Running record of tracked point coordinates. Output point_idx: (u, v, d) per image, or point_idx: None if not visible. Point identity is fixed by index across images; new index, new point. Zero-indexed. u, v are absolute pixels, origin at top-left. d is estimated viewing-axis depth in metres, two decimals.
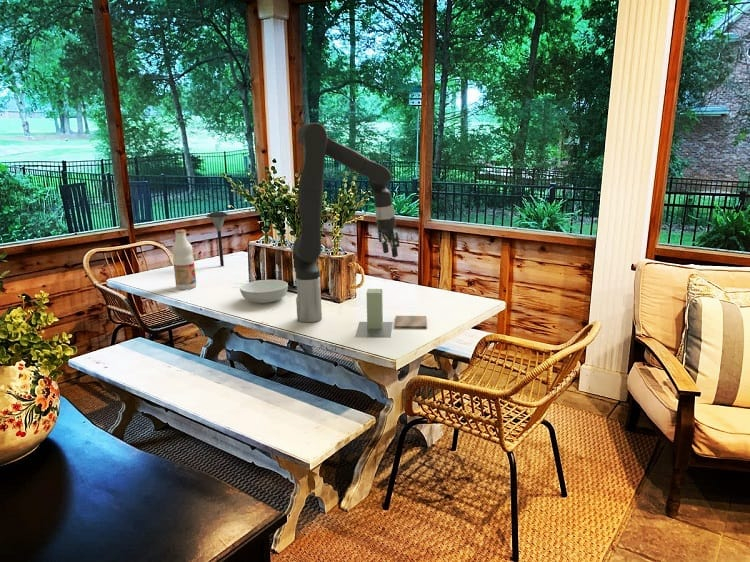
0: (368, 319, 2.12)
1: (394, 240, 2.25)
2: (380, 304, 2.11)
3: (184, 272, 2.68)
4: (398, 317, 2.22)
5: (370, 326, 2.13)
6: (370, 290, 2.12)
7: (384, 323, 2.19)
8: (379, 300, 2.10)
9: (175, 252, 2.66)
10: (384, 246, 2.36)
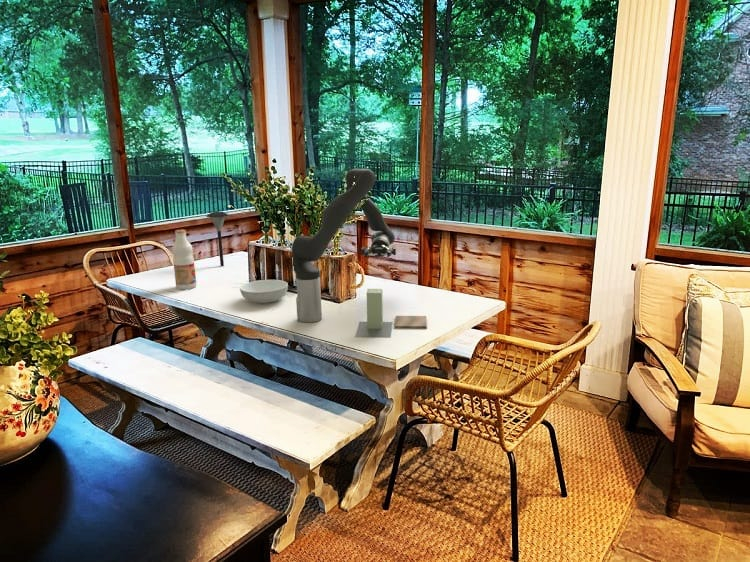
0: (368, 319, 2.12)
1: None
2: (380, 304, 2.11)
3: (184, 272, 2.68)
4: (398, 317, 2.22)
5: (370, 326, 2.13)
6: (370, 290, 2.12)
7: (384, 323, 2.19)
8: (379, 300, 2.10)
9: (175, 252, 2.66)
10: (368, 251, 2.30)
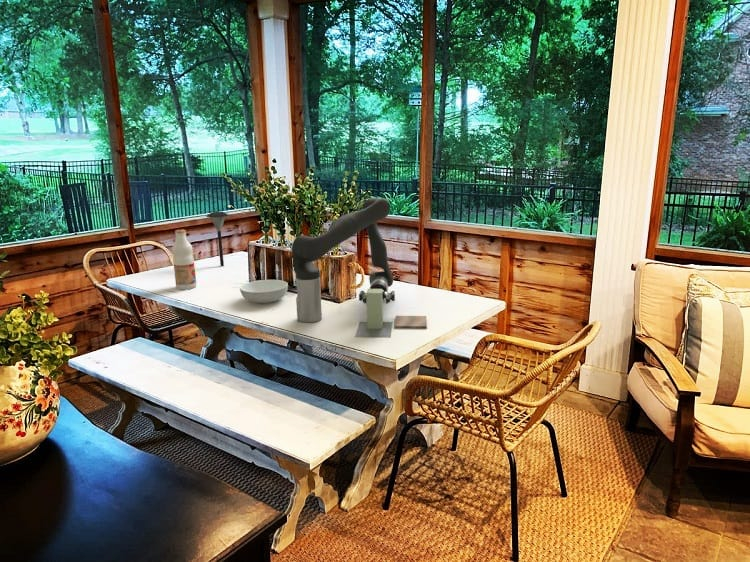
0: (368, 319, 2.12)
1: (394, 294, 2.27)
2: (380, 304, 2.11)
3: (184, 272, 2.68)
4: (398, 317, 2.22)
5: (370, 326, 2.13)
6: (370, 290, 2.12)
7: (384, 323, 2.19)
8: (379, 300, 2.10)
9: (175, 252, 2.66)
10: (366, 297, 2.23)
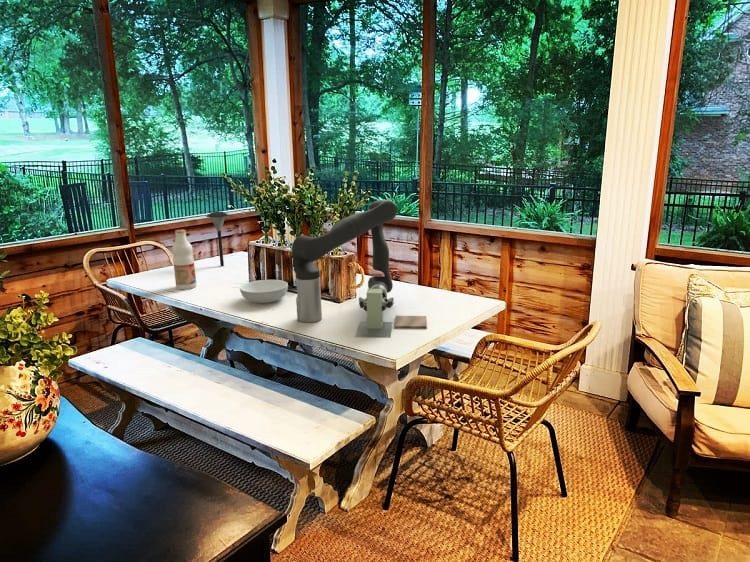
0: (368, 319, 2.12)
1: (392, 301, 2.18)
2: (380, 304, 2.11)
3: (184, 272, 2.68)
4: (398, 317, 2.22)
5: (370, 326, 2.13)
6: (370, 290, 2.12)
7: (384, 323, 2.19)
8: (379, 300, 2.10)
9: (175, 252, 2.66)
10: None
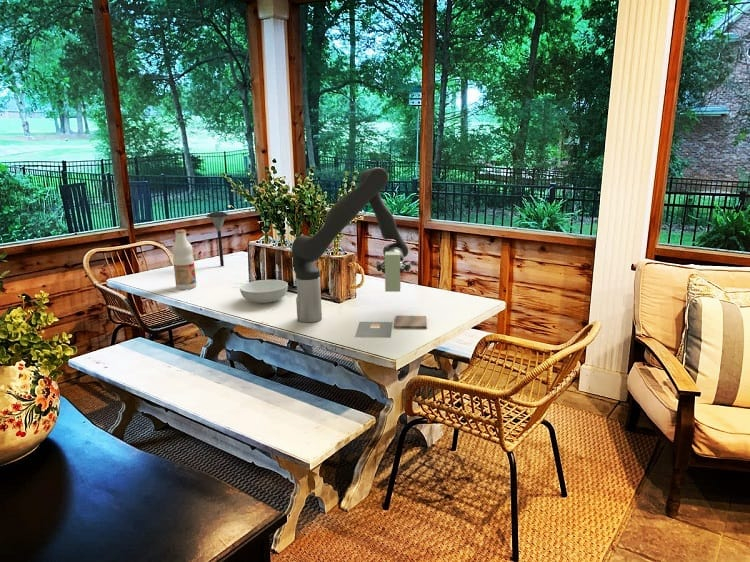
0: (386, 282, 2.10)
1: (409, 264, 2.16)
2: (398, 266, 2.09)
3: (184, 272, 2.68)
4: (398, 317, 2.22)
5: (388, 289, 2.11)
6: (388, 253, 2.10)
7: (384, 323, 2.19)
8: (397, 262, 2.08)
9: (175, 252, 2.66)
10: None
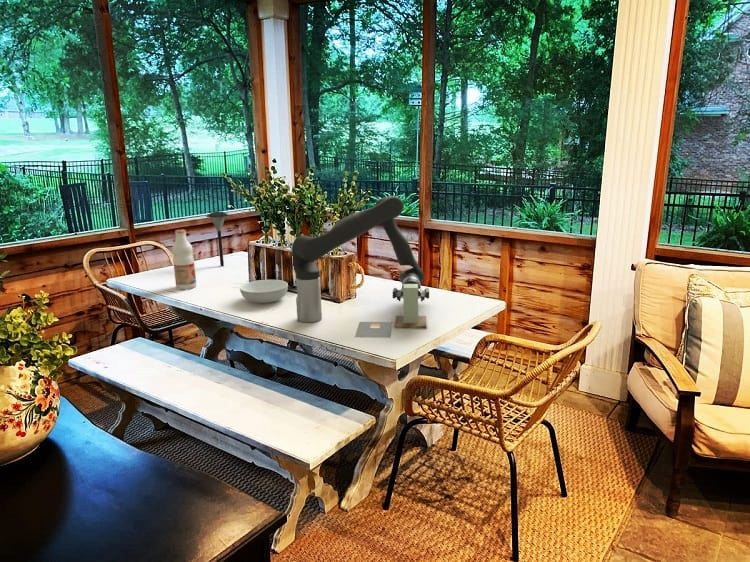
0: (404, 314, 2.15)
1: (428, 291, 2.21)
2: (416, 299, 2.13)
3: (184, 272, 2.68)
4: (398, 317, 2.22)
5: (406, 321, 2.16)
6: (406, 285, 2.15)
7: (384, 323, 2.19)
8: (416, 295, 2.13)
9: (175, 252, 2.66)
10: (400, 295, 2.17)
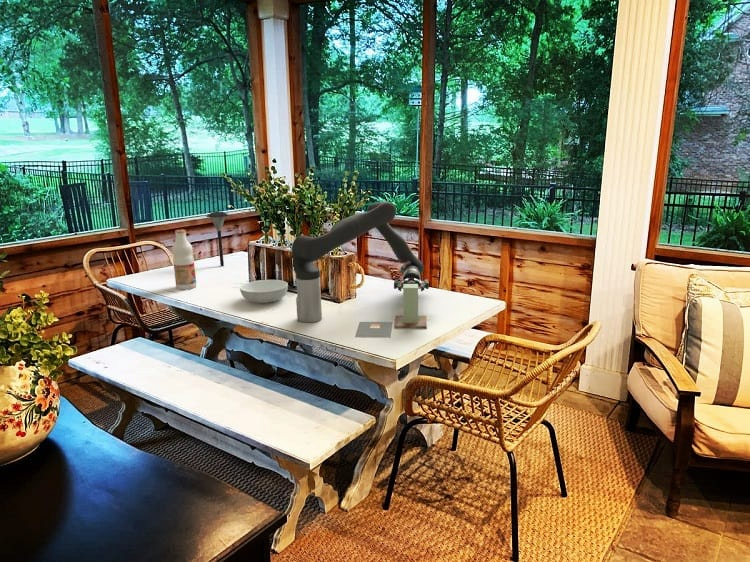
0: (404, 314, 2.15)
1: None
2: (416, 299, 2.13)
3: (184, 272, 2.68)
4: (398, 317, 2.22)
5: (406, 321, 2.16)
6: (406, 285, 2.15)
7: (384, 323, 2.19)
8: (416, 295, 2.13)
9: (175, 252, 2.66)
10: (401, 285, 2.30)
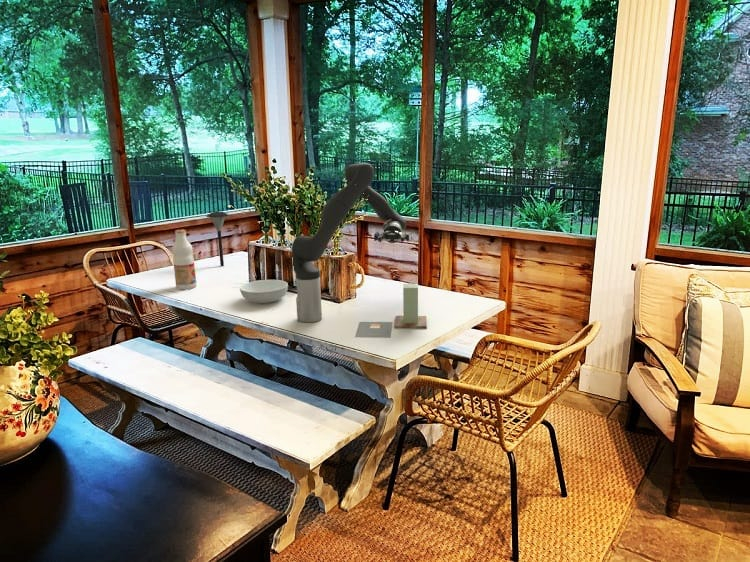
0: (404, 314, 2.15)
1: (408, 234, 2.32)
2: (416, 299, 2.13)
3: (184, 272, 2.68)
4: (398, 317, 2.22)
5: (406, 321, 2.16)
6: (406, 285, 2.15)
7: (384, 323, 2.19)
8: (416, 295, 2.13)
9: (175, 252, 2.66)
10: (381, 237, 2.28)
